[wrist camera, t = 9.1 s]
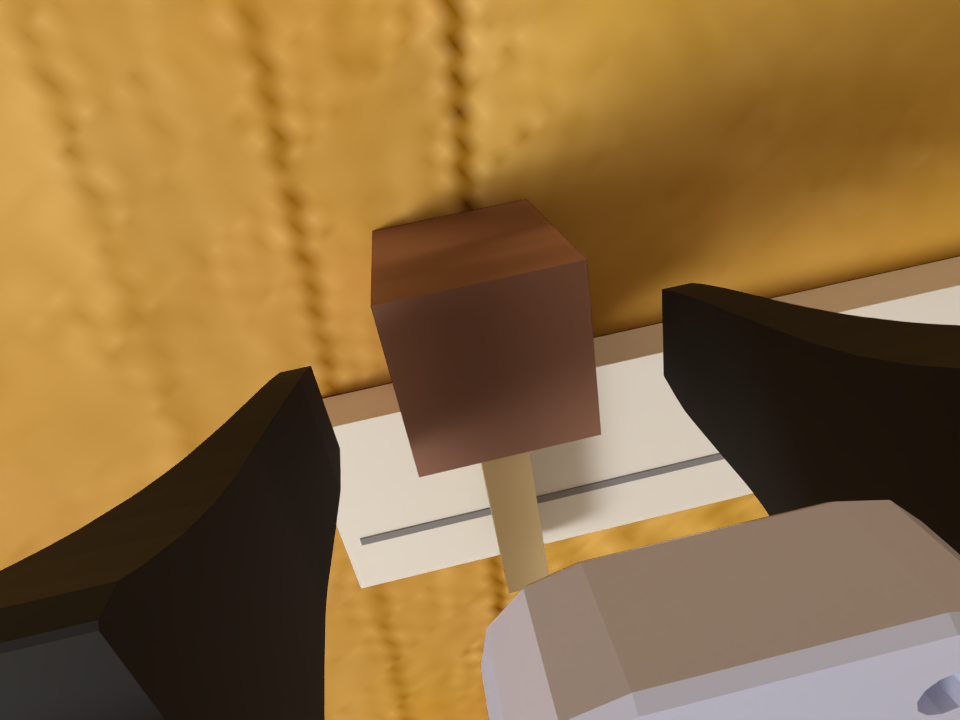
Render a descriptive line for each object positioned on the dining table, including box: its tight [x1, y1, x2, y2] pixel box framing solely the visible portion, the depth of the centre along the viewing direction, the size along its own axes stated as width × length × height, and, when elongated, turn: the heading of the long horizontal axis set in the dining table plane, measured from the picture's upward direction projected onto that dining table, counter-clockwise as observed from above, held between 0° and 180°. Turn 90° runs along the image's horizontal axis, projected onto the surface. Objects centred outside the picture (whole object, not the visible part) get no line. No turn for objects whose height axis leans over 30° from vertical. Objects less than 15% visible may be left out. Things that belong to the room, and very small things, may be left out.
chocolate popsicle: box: [371, 199, 601, 593], centre depth 15 cm, size 4×10×5 cm, turn 9°
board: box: [323, 256, 960, 588], centre depth 18 cm, size 22×6×2 cm, turn 99°
